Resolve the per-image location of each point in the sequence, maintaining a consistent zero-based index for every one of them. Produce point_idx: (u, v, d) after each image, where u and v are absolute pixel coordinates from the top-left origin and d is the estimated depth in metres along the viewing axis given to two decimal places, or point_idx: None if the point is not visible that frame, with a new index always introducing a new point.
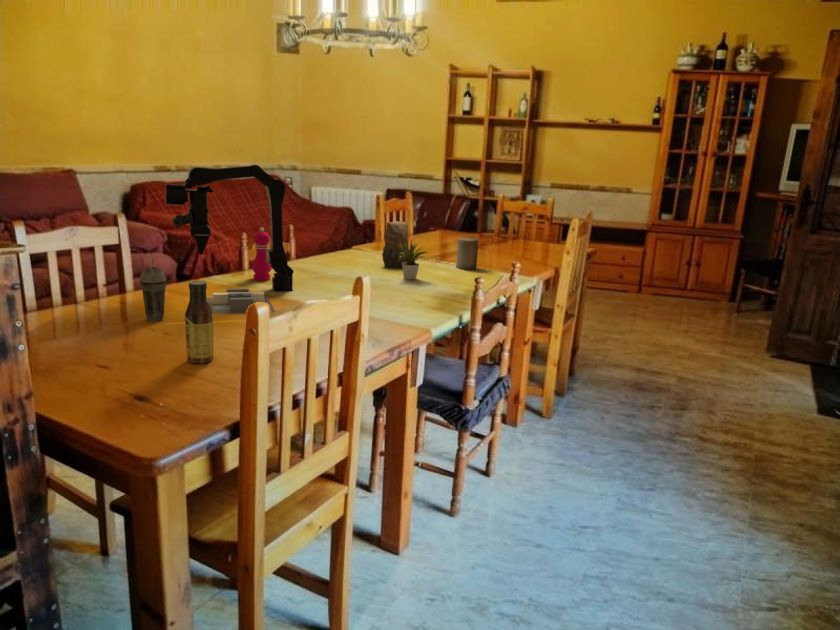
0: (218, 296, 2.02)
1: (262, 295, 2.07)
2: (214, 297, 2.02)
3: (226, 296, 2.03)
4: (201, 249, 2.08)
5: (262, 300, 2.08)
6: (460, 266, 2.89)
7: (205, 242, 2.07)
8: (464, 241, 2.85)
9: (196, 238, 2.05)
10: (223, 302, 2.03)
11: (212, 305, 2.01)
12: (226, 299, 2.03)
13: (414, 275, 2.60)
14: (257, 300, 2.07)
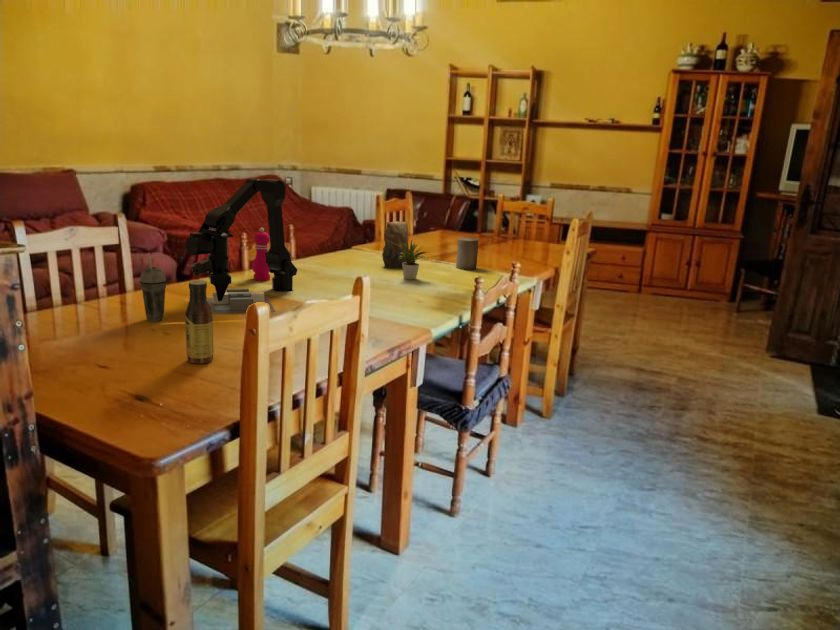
0: None
1: (262, 295, 2.07)
2: (214, 297, 2.02)
3: (226, 296, 2.03)
4: (220, 295, 2.02)
5: (262, 300, 2.08)
6: (460, 266, 2.89)
7: (225, 288, 2.01)
8: (464, 241, 2.85)
9: (215, 285, 1.99)
10: (223, 302, 2.03)
11: (212, 305, 2.01)
12: (226, 299, 2.03)
13: (414, 275, 2.60)
14: (257, 300, 2.07)
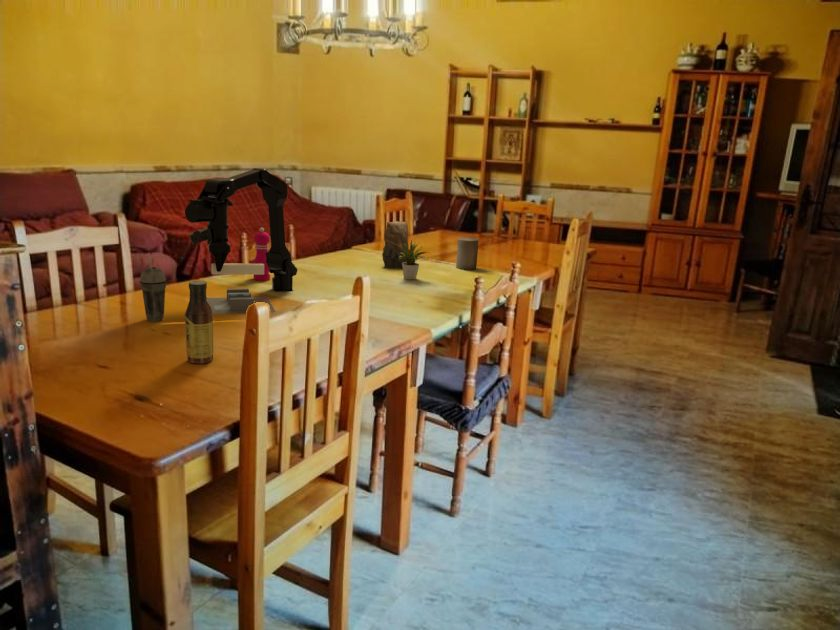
0: None
1: (262, 267, 2.02)
2: (213, 267, 1.97)
3: (225, 267, 1.98)
4: (219, 266, 1.96)
5: (262, 272, 2.02)
6: (460, 266, 2.89)
7: (224, 258, 1.96)
8: (464, 241, 2.85)
9: (214, 254, 1.94)
10: (222, 273, 1.98)
11: (212, 305, 2.01)
12: (225, 270, 1.98)
13: (414, 275, 2.60)
14: (257, 272, 2.02)
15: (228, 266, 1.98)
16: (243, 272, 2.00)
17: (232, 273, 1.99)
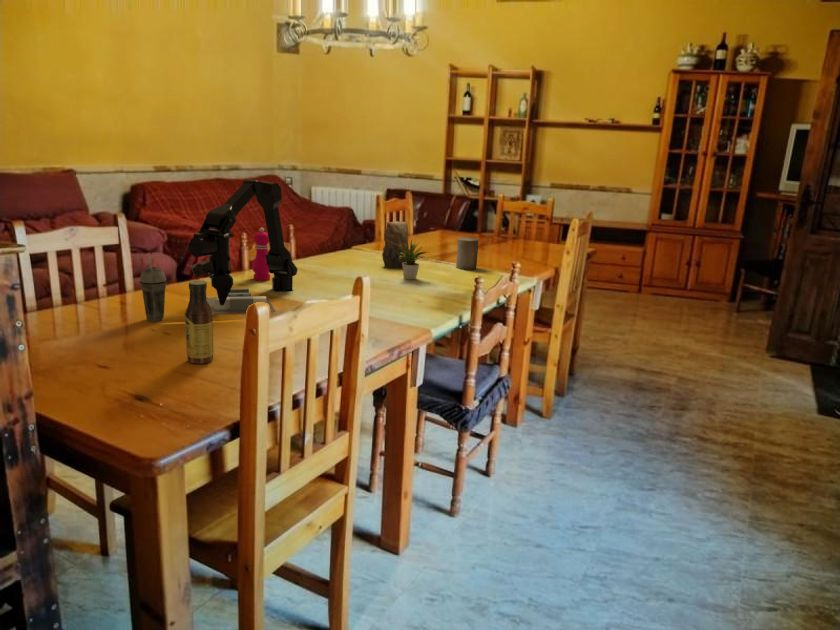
0: None
1: (264, 300, 2.01)
2: (215, 302, 1.96)
3: (227, 301, 1.97)
4: (222, 300, 1.93)
5: None
6: (460, 266, 2.89)
7: (227, 292, 1.92)
8: (464, 241, 2.85)
9: (217, 288, 1.91)
10: (224, 307, 1.97)
11: (212, 305, 2.01)
12: (227, 304, 1.97)
13: (414, 275, 2.60)
14: None
15: None
16: None
17: None
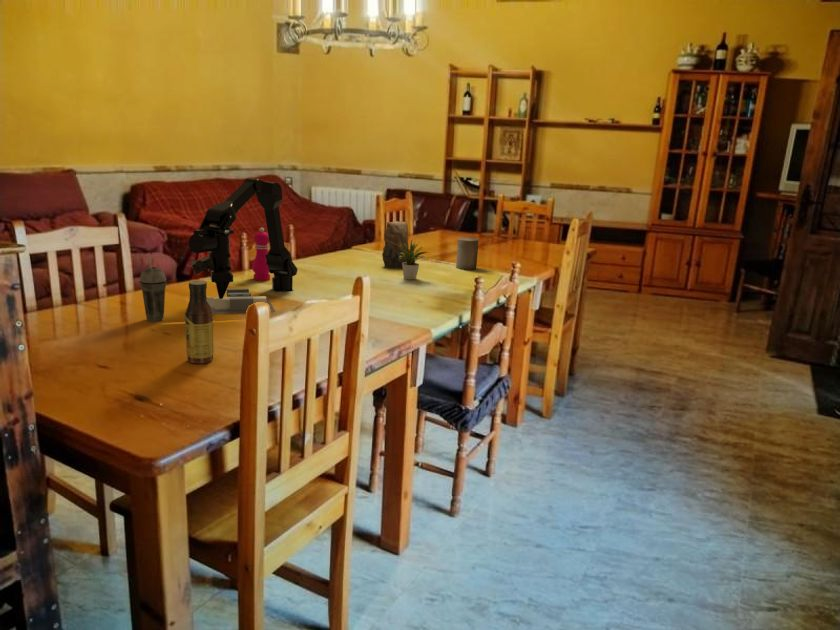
0: (219, 301, 1.96)
1: (264, 300, 2.01)
2: (215, 302, 1.96)
3: (227, 301, 1.97)
4: (221, 293, 1.97)
5: None
6: (460, 266, 2.89)
7: (226, 286, 1.96)
8: (464, 241, 2.85)
9: (216, 282, 1.94)
10: (224, 307, 1.97)
11: (212, 305, 2.01)
12: (227, 304, 1.97)
13: (414, 275, 2.60)
14: None
15: None
16: None
17: None
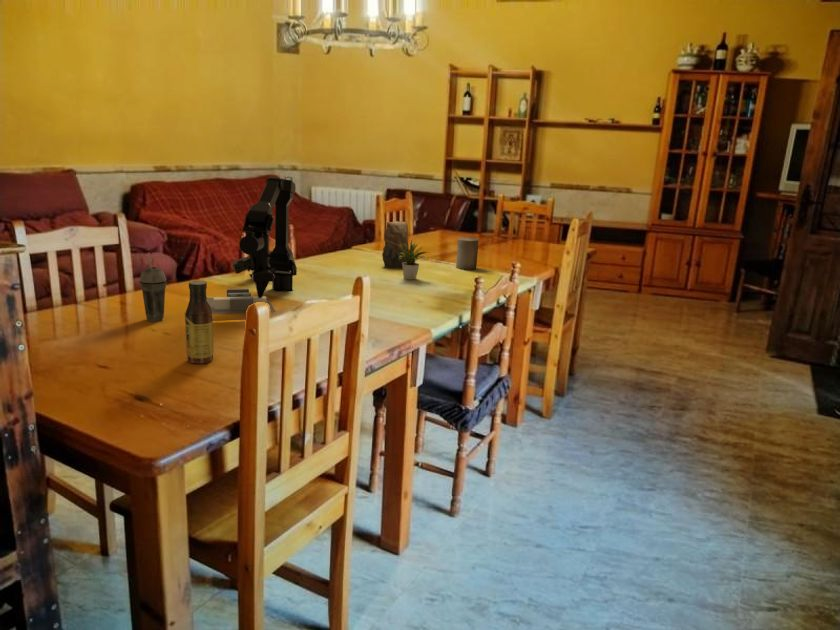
0: (219, 301, 1.96)
1: (264, 300, 2.01)
2: (215, 302, 1.96)
3: (227, 301, 1.97)
4: (261, 292, 2.01)
5: None
6: (460, 266, 2.89)
7: (265, 285, 2.00)
8: (464, 241, 2.85)
9: (256, 281, 1.98)
10: (224, 307, 1.97)
11: (212, 305, 2.01)
12: (227, 304, 1.97)
13: (414, 275, 2.60)
14: None
15: None
16: None
17: None
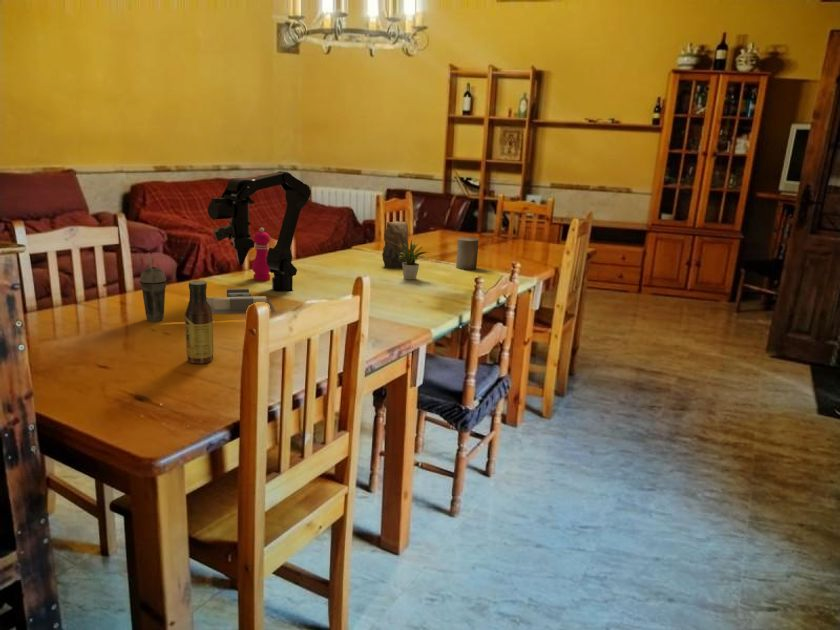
0: (219, 301, 1.96)
1: (264, 300, 2.01)
2: (215, 302, 1.96)
3: (227, 301, 1.97)
4: (242, 259, 2.09)
5: None
6: (460, 266, 2.89)
7: (246, 252, 2.09)
8: (464, 241, 2.85)
9: (237, 249, 2.07)
10: (224, 307, 1.97)
11: (212, 305, 2.01)
12: (227, 304, 1.97)
13: (414, 275, 2.60)
14: None
15: None
16: None
17: None
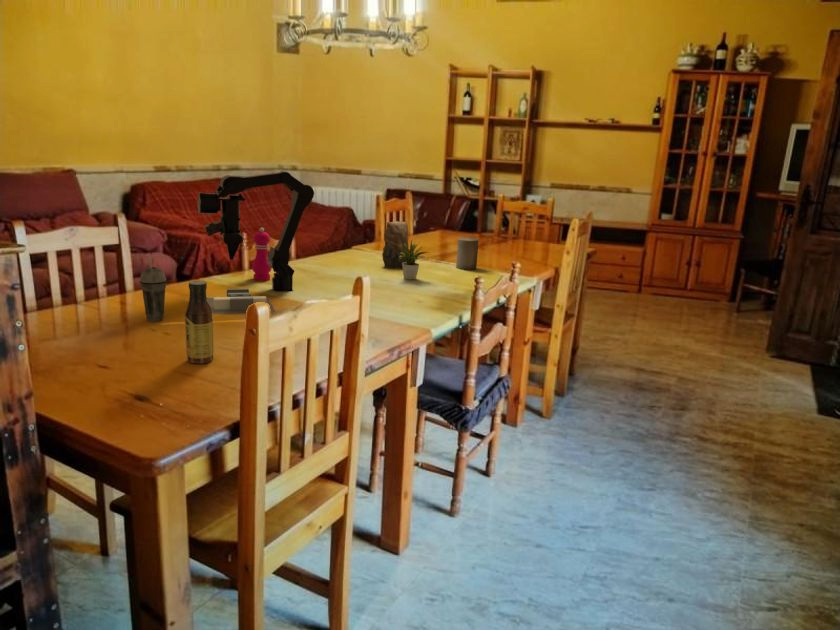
0: (219, 301, 1.96)
1: (264, 300, 2.01)
2: (215, 302, 1.96)
3: (227, 301, 1.97)
4: (232, 254, 2.15)
5: None
6: (460, 266, 2.89)
7: (236, 247, 2.14)
8: (464, 241, 2.85)
9: (227, 244, 2.13)
10: (224, 307, 1.97)
11: (212, 305, 2.01)
12: (227, 304, 1.97)
13: (414, 275, 2.60)
14: None
15: None
16: None
17: None
